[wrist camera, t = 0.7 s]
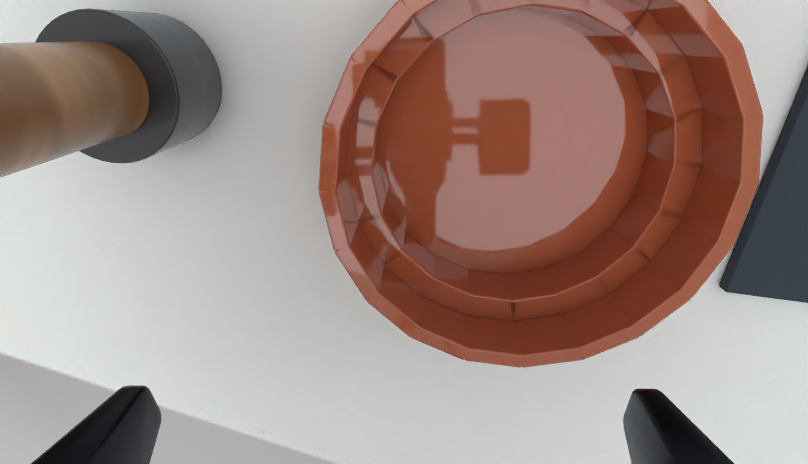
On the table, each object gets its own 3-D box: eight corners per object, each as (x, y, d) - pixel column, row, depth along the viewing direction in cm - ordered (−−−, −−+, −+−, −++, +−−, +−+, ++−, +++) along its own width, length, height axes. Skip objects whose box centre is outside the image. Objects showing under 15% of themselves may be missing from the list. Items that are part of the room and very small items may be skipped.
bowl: (623, 313, 24) (676, 388, 19) (333, 276, 24) (308, 340, 19) (730, -8, 19) (842, -23, 14) (360, -59, 19) (336, -93, 14)
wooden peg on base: (222, 149, 22) (-21, 288, 10) (104, 133, 22) (-282, 254, 10) (221, 22, 20) (-80, 6, 8) (92, 4, 20) (-404, -38, 8)
